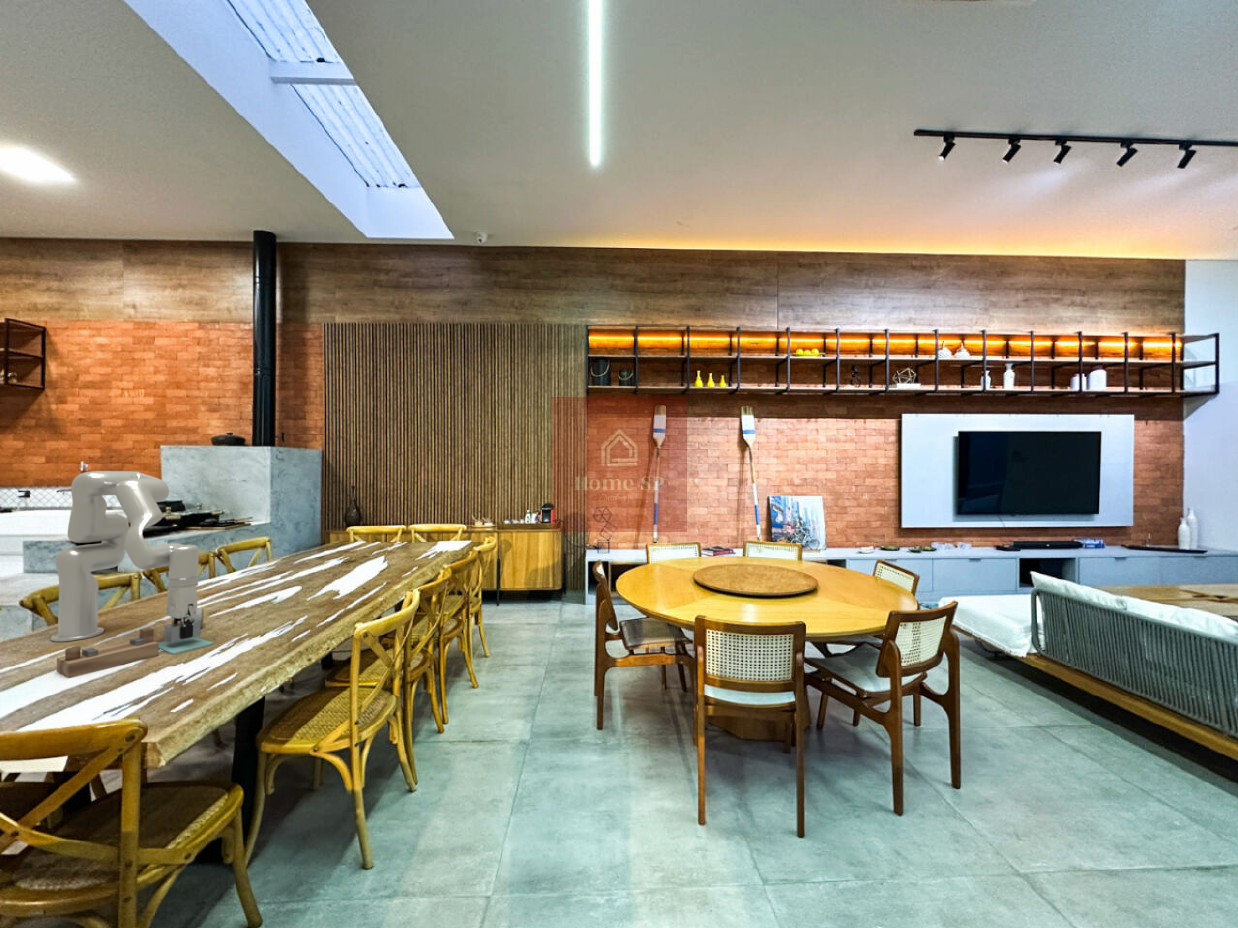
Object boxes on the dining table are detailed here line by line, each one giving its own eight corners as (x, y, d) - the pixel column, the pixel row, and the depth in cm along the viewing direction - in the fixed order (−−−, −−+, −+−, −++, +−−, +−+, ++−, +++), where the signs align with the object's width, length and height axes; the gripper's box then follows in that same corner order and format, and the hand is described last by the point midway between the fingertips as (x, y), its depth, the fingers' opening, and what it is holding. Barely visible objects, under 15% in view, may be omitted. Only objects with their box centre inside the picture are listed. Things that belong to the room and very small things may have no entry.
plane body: (56, 671, 147) (57, 644, 147) (145, 650, 165) (145, 625, 165) (68, 677, 143) (69, 649, 143) (158, 655, 161) (158, 630, 161)
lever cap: (163, 640, 168) (164, 622, 168) (193, 633, 175) (193, 616, 175) (171, 642, 165) (171, 625, 165) (200, 635, 172) (200, 618, 172)
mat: (150, 646, 169) (150, 644, 169) (190, 636, 178) (190, 635, 178) (173, 654, 161) (173, 652, 161) (213, 644, 171) (213, 642, 171)
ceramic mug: (203, 629, 187) (204, 608, 187) (174, 633, 181) (175, 612, 182) (202, 623, 195) (203, 603, 195) (174, 627, 189) (175, 606, 190)
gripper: (157, 581, 171) (156, 635, 170) (182, 587, 163) (181, 644, 163) (184, 577, 177) (183, 629, 177) (209, 582, 170) (208, 637, 169)
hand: (182, 635), depth 170 cm, fingers closed on lever cap, 5 cm apart
